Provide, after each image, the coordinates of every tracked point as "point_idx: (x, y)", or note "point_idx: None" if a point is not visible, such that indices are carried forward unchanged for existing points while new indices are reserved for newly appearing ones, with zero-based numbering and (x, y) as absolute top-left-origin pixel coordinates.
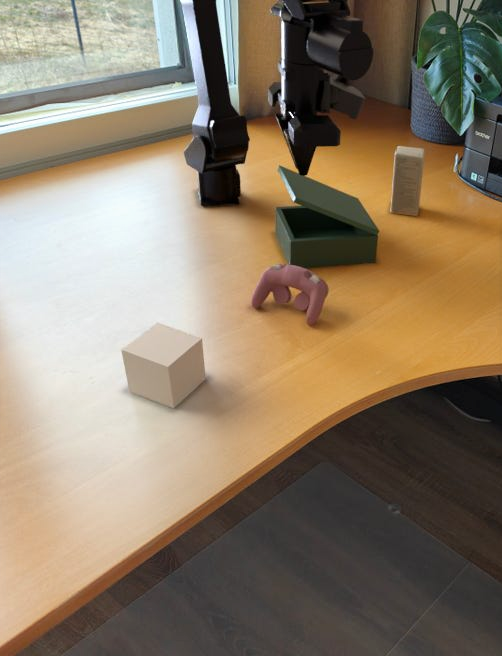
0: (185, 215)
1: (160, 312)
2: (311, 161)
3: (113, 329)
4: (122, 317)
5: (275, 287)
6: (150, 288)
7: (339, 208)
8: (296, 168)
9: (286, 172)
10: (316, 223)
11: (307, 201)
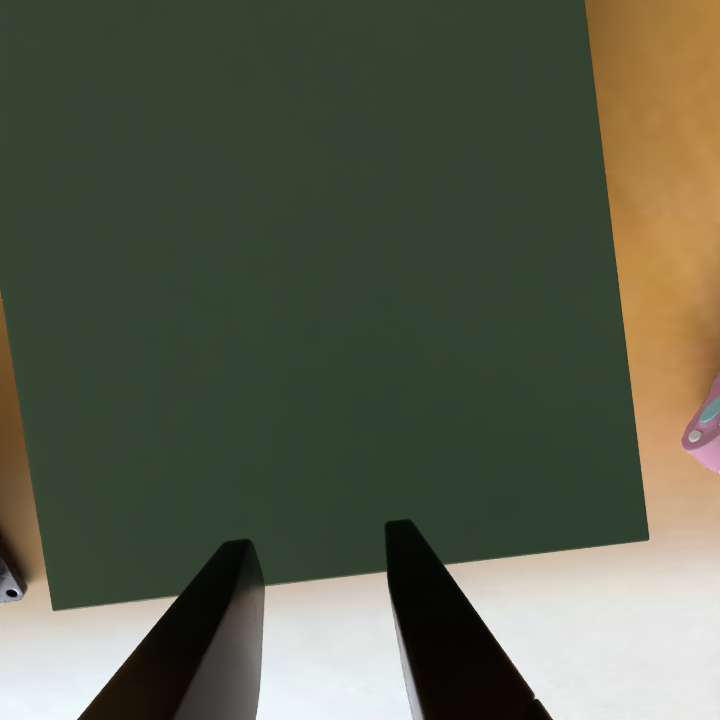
0: (107, 621)
1: (667, 634)
2: (488, 629)
3: (707, 696)
4: (664, 689)
5: (706, 403)
6: (547, 658)
7: (440, 130)
8: (264, 585)
9: (152, 564)
10: None
11: (619, 441)
